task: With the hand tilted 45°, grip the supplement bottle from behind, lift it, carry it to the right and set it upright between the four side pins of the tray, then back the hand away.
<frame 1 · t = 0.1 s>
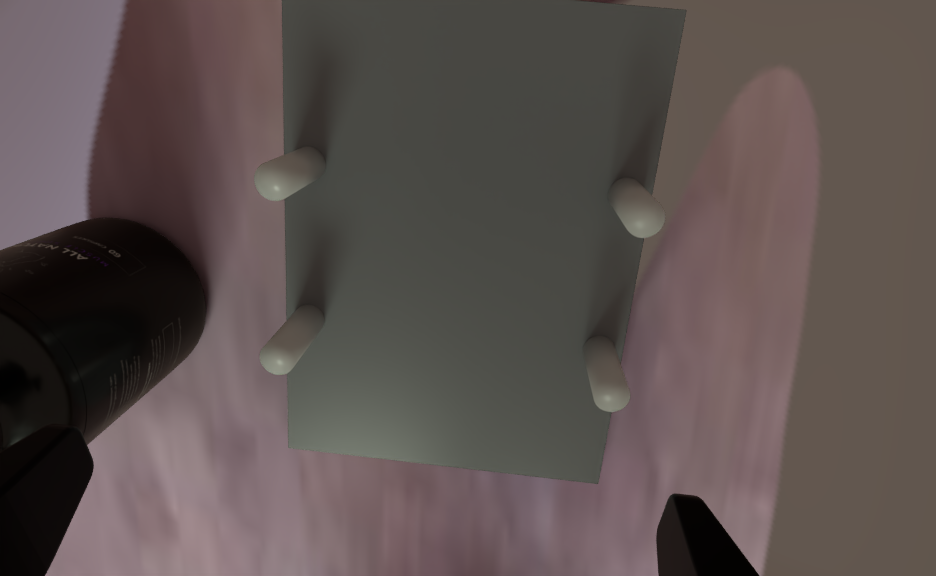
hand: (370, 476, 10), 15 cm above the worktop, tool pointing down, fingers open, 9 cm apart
supplement bottle: (133, 292, 26), on the worktop
pin tray: (461, 251, 24), on the worktop
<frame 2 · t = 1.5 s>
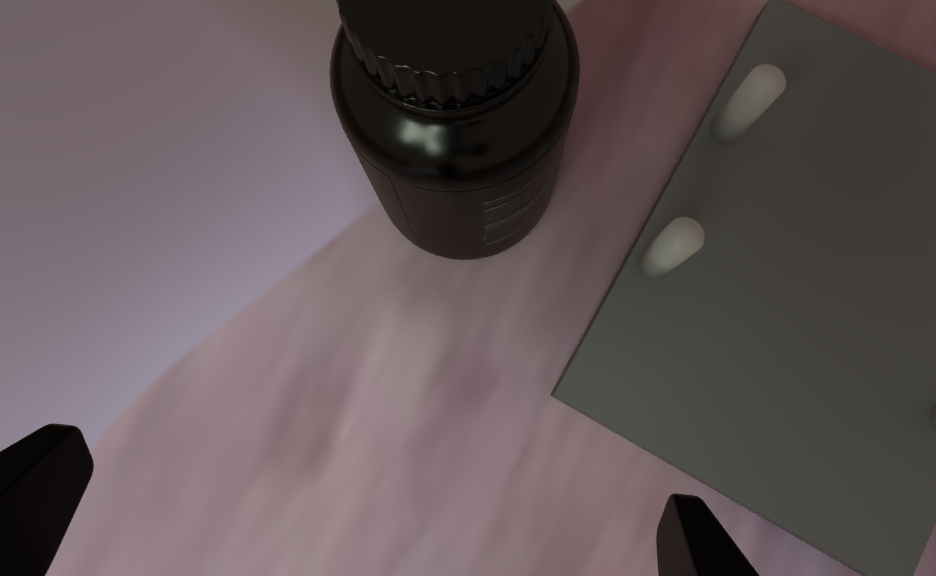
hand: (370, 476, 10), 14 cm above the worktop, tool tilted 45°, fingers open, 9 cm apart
supplement bottle: (464, 182, 25), on the worktop
pin tray: (814, 274, 24), on the worktop
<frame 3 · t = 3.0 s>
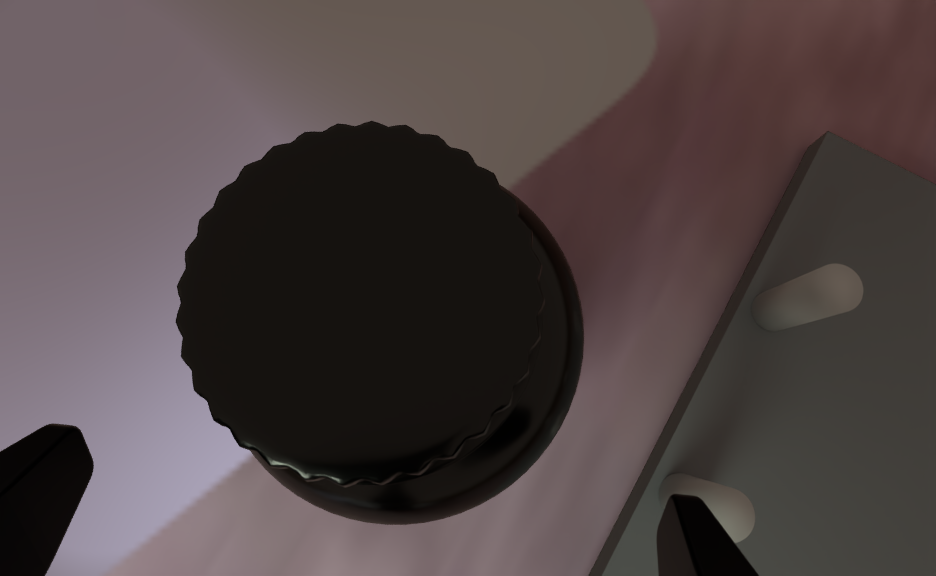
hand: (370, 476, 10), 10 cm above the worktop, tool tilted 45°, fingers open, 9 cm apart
supplement bottle: (435, 366, 20), on the worktop
pin tray: (885, 498, 19), on the worktop
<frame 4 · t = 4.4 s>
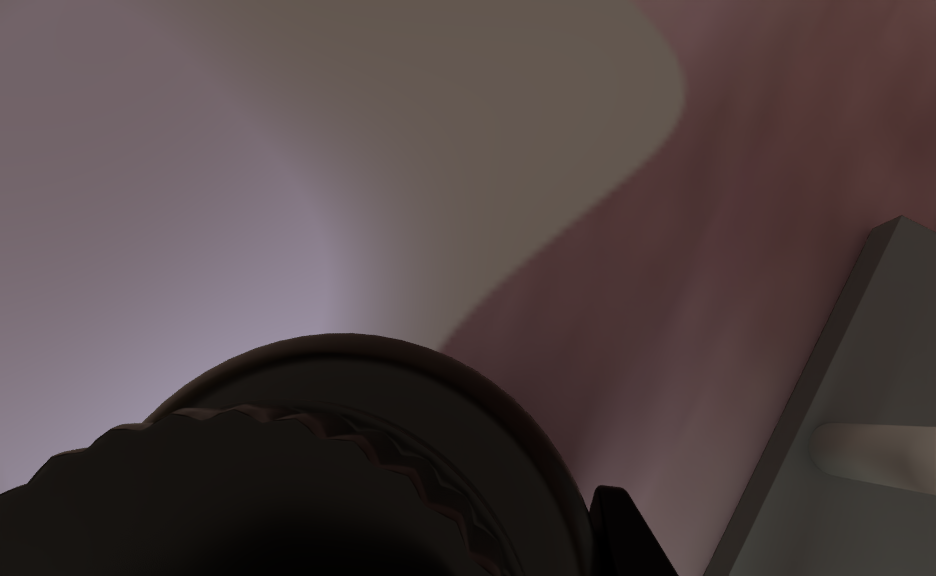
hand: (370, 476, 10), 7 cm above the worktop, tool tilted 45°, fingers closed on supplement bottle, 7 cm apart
supplement bottle: (411, 505, 16), on the worktop, touching gripper
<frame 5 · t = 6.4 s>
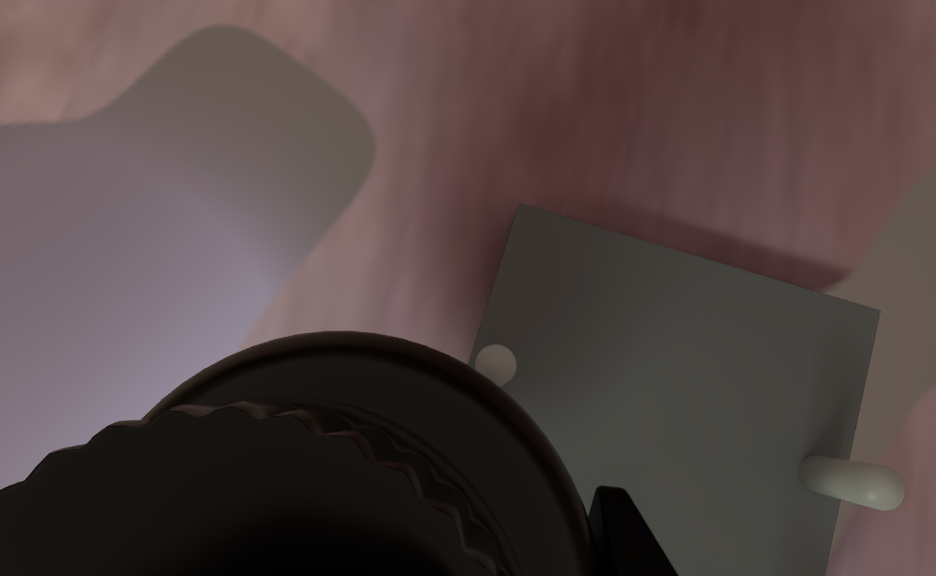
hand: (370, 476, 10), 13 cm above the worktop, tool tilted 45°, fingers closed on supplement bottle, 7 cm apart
supplement bottle: (409, 502, 16), point 6 cm above the worktop, touching gripper
pin tray: (621, 503, 22), on the worktop
when the fingers open (8 cm above the worktop, at t = 8.4 s): supplement bottle stays where it is, resting on pin tray.
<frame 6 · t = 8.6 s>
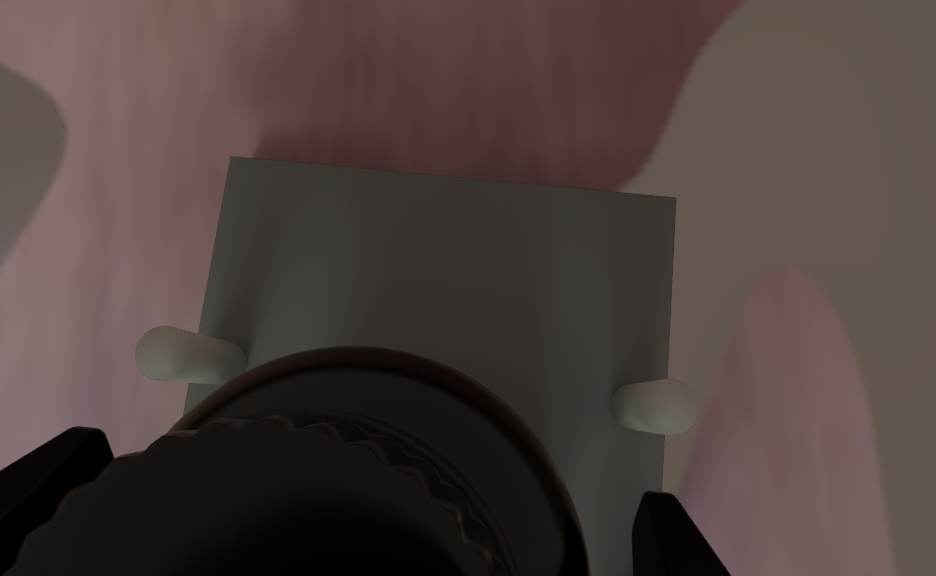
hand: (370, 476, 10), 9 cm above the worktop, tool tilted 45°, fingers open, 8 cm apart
supplement bottle: (414, 502, 17), point 1 cm above the worktop, touching pin tray
pin tray: (417, 492, 18), on the worktop
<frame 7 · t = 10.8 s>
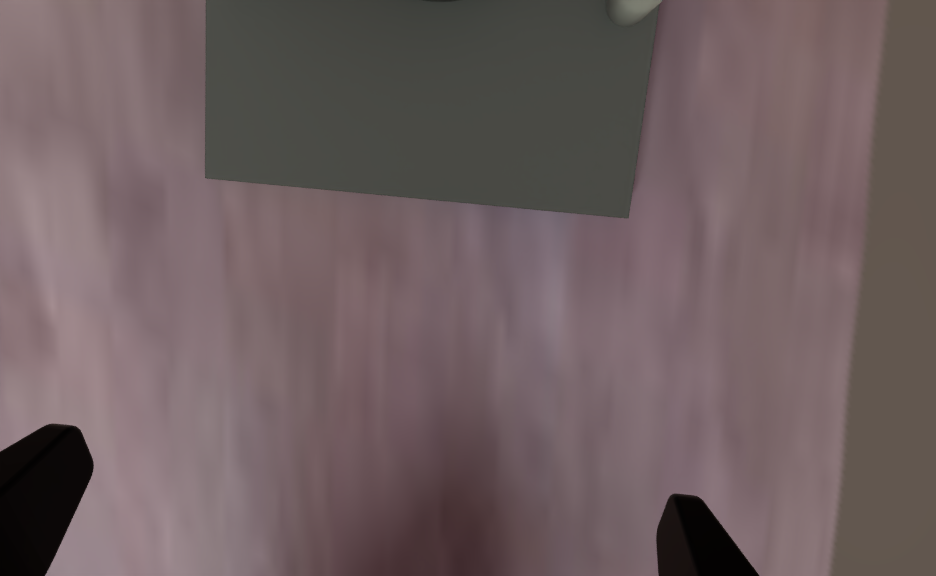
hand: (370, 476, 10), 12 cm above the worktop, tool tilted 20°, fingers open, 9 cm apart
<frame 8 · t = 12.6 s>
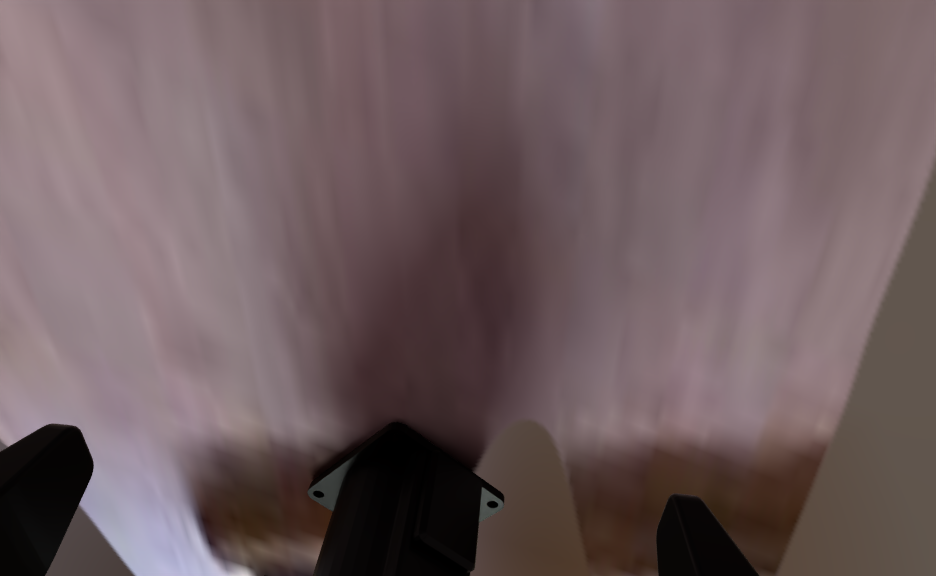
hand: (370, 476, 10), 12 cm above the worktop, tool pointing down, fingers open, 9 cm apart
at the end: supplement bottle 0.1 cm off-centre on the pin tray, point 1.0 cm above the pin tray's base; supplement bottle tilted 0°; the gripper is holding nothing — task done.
